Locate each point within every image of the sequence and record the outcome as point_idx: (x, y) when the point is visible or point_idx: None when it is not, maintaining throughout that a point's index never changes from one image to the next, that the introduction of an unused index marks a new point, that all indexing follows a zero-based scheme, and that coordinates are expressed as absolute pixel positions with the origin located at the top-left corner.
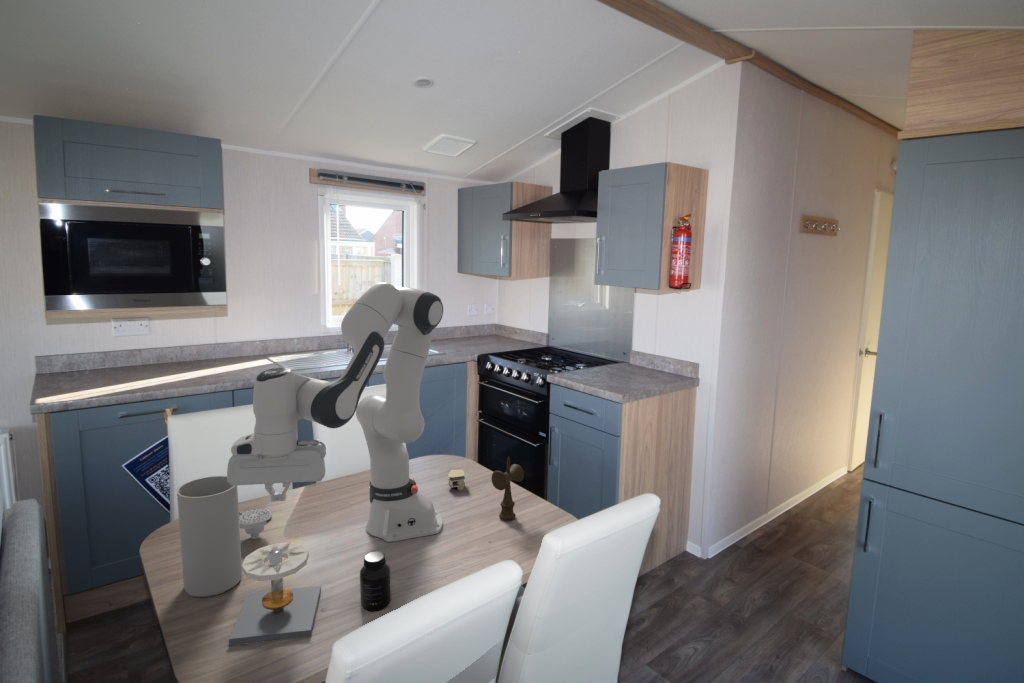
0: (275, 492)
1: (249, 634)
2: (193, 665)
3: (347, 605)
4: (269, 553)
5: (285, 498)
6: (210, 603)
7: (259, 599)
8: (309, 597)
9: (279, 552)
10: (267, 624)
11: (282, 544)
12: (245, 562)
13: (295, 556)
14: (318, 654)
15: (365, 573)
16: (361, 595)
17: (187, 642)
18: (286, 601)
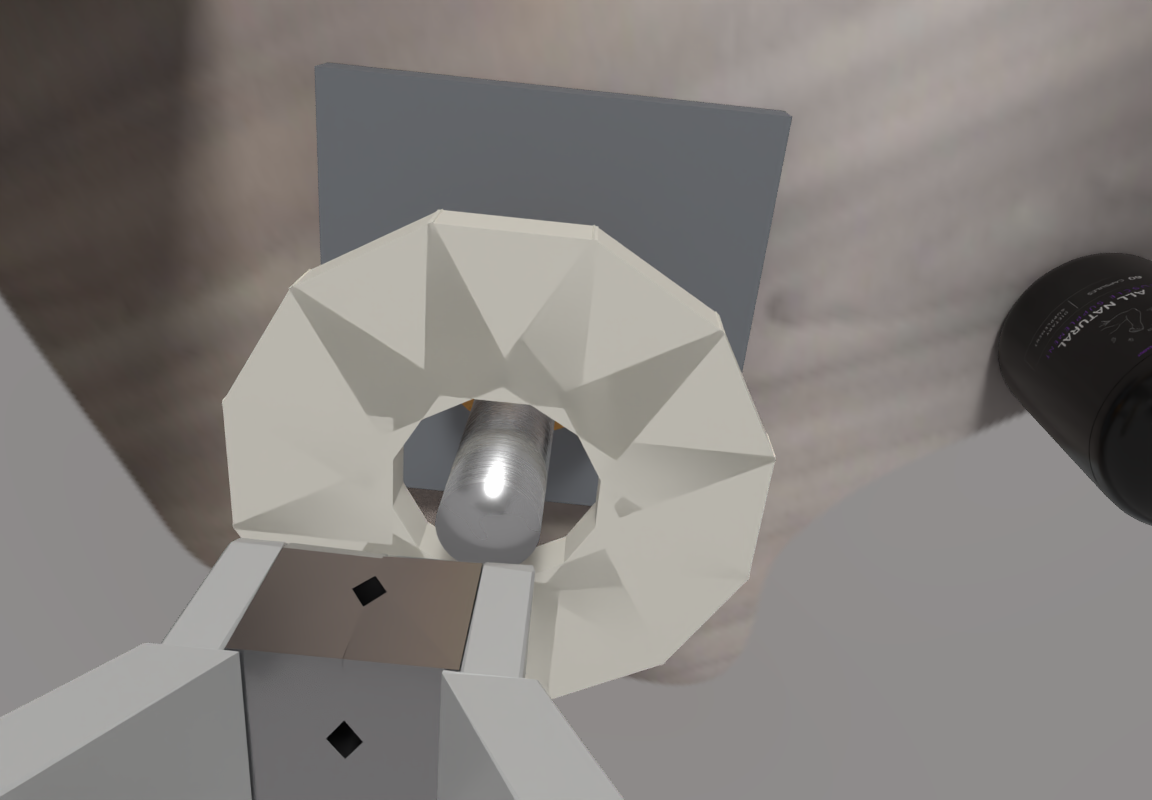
0: (259, 699)
1: (419, 472)
2: (225, 538)
3: (922, 305)
4: (423, 402)
5: (529, 630)
6: (92, 48)
7: (402, 169)
8: (712, 235)
9: (524, 543)
10: None
11: (522, 266)
12: (250, 496)
13: (661, 510)
14: (738, 610)
15: (1139, 499)
16: (1030, 398)
17: (128, 385)
18: None
